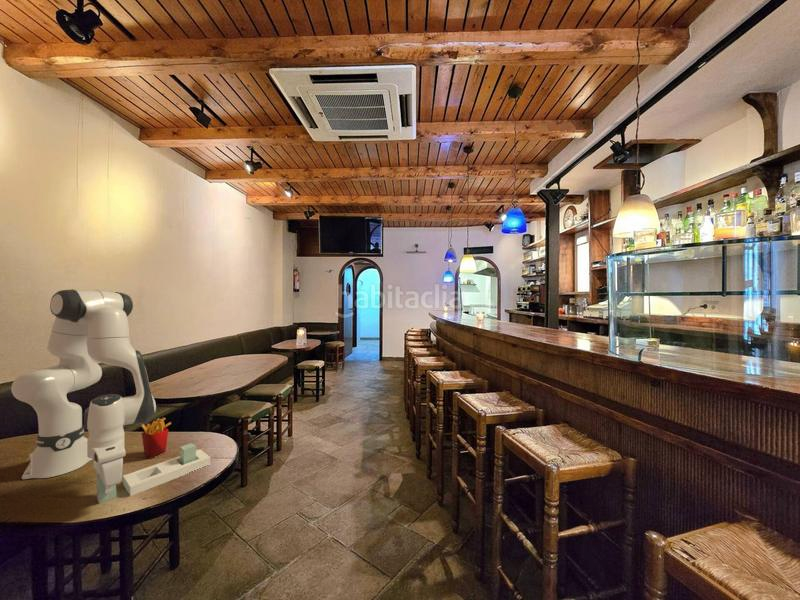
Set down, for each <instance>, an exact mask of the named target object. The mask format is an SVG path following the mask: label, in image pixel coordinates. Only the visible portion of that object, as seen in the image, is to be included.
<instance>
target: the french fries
mask: <svg viewBox="0 0 800 600" xmlns="http://www.w3.org/2000/svg"><path fill="white" fill-rule="evenodd" d="M165 420H166V417H162V418H157V419H156V420H154V421H152V422H151V423H146V425H145V424H144V423H143V424H141V425H140V426H141V427H142V429H143V430H144V431H143V432H141V438H142V445H143V451H144V457H146V456H148V457H147V458H149V457H151V458H150V459H152V458H153V457H155V456H157V457H159V456H158V455H160V454H162V453H164V452H165V453H166V452H167V451H166V450H167V443H168V436H169V429H168V426H170V425H172V422H171V421H170V422H168V423H166V424H165ZM165 453H164V454H165ZM162 455H163V454H162ZM160 456H161V455H160ZM155 458H156V457H155ZM153 459H154V458H153Z"/></svg>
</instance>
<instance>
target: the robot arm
mask: <svg viewBox="0 0 800 600" xmlns="http://www.w3.org/2000/svg"><path fill="white" fill-rule="evenodd" d="M49 307H50V308H49V309H50V312H51V314H52V315H53V316H54V317H55V319H54V322H53V324H52V327H51V330H50V331H51V332H50V335H49V340H48V344H47V351H48V352H49V353H50V354H51V355H52V356H54V357H57V358H59V363H58V364H57V365H54V366H49V367H44V368H39V369H35V370H32V371H31V370H30V371H29V372H26V373H24V374H22V375H19V376H17V377H16V378H15V379H14V380H13V382H12V384H11V389H10V390H11V394H12V395H13V397H14V398H15V399H16V400H18V401H20V402H23V403H26V404H28V405H30V406H31V407H32V408H33V409H34V411H35V412H36V415H37V421H38V422H37V424H38V435H36V439H35V440H36V448H35V449H34V450H33V451H32V452H30V453H29V454H28V461H30V462H29V464H28V465H27V467H26V468H25V470H24V472H23V474H22V476H21V479H22V480H28V479H30V480H31V479H48V478H52V477H56V476H61V475H65V474H67V473H70V472H73V471H75V470H78V469H79V468H81V467H83V466H85V465H86V464H87V463H89V462H91V461H92V462H93V463H92V464H93V467H94V469H95V471H96V474H98V475H99V476H100V479H101V480H102V482H103V484H104V486H105V487H104V492H105V494H107V493H110V492H112V490H113V485H116V486H117V484H120V483H121V481H122V479H123V469H124V468H123V467H124V457H126V445H125V444H126V441H125V440H126V439H125V437H126V436H125V435H126V434H125V430H124V426H127V425H132V424H135V425H136V424H141V423H143V424H144V423H146V422H148V421H149V420H151V418H153V417H154V415H155V414H156V410H157V405H156V404H157V403H156V400H155V398H154V396H153V394H152V391H151V385H150V381H149V375H148V372H147V368H146V365H145V361H144V358H143V355H142V353H141V352H140V350H138V349H137V350H136V349H135V348H134V347H133V346H132V344H131V340H130V325H129V324H130V323H129V320H128V316H130V314H131V313H132V311H133V308H134V303H133V299H132V298H131V297H130V295H128V294H126V293H123V292H119V291H115V292H113V291H107V290H98V289H95V290H90V289H89V290H87V289H84V290H83V289H79V290H78V289H77V290H76V289H63V290H59V291H57V292H56V293H54V294H53V295H52V297H51V299H50V303H49ZM99 363H102V364H105V365H109V366H115V367H119V368H124V369H127V370H128V371H130V372H131V374H132V377H133V382H134V384H135V390H136V394H134V395H129V396H124V397H123V396H121V395H120V394H117V393H109V394H103V395H99V396H97V397H95V398H93V399H92V400H91V401H90V403H89V406H88V407H87V408H85V410H84V412H83V409H82V406H81V405H80V404H78V403H75V402H72V401H69V400H68V398H67V394H68V393H73V392H76V391H79V390H82V389H86V388H89V387H90V386H92V385H95V384H97V383H98V382H99V381H100V380H101V378H102V376H103V370H102V367H101V365H99ZM85 429H86V430H87V431H88V437H85V436H84V435H85V433H84V432H85Z"/></svg>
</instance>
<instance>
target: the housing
mask: <svg viewBox="0 0 800 600" xmlns="http://www.w3.org/2000/svg"><path fill="white" fill-rule="evenodd" d="M207 465H209V466H211V456H209V455H208V454H207V453H206V452H205V451H204V450H202V449H200V448H199V449H197V445H195V444H194V443H193V442H190V443H188V444H185V445H182V446H180V447H179V456H176V457H174V458H171V459H167V460H165V461H163V462H159V463H155V464H153V465H150V466H148V467H144V468H142V469H141V468H140V469H138V470H136V471H135V470H134V472H133V471H132V472H130V473H127V474H123V475H122V485H123V487H124V488H125V490H126V492H127V493H128V494H129V496H130V497H131V496H134V495H136V494H139V493H142V492H144V491H146V490H149V489H151V488H155V487H158V486H160V485H163V484H165V483H168V482H170V481H172V480H176V479H178V478H181V477H182V476H183V477H184V476H186V475H188V474H190V473H189V472H191V471H193V472H195V471H194V470H196V471H198V470H197V469H199V468H201V469H203V468H202V467H204V466H206V467H208V466H207ZM204 468H205V467H204ZM199 470H200V469H199ZM187 473H188V474H187ZM191 473H192V472H191ZM185 474H186V475H185ZM180 476H181V477H180Z"/></svg>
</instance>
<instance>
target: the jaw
mask: <svg viewBox="0 0 800 600" xmlns="http://www.w3.org/2000/svg"><path fill="white" fill-rule="evenodd" d="M104 487H105V486H104V484H103V482H102V480H101V479H100V476H99V475H98V473H96V500H97V502H98V504H101V503H103V502H106V501H109V500H112V499H115V498H116V497H117V484H116V485H113V490H112V492H110V493H107V494H105V492H104Z"/></svg>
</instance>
